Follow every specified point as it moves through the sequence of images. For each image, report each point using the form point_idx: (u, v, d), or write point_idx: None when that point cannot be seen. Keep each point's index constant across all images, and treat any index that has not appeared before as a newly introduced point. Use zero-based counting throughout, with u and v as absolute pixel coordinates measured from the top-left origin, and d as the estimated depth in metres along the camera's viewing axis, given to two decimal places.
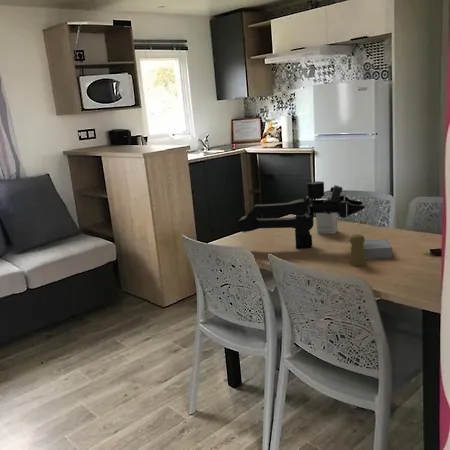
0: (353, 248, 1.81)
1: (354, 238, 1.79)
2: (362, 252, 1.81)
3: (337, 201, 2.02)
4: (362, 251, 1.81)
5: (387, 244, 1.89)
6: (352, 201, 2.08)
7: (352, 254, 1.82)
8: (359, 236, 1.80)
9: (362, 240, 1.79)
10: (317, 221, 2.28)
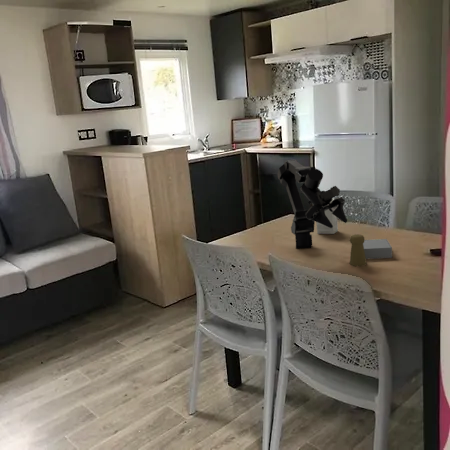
0: (353, 248, 1.81)
1: (354, 238, 1.79)
2: (362, 252, 1.81)
3: (321, 201, 1.87)
4: (362, 251, 1.81)
5: (387, 244, 1.89)
6: (341, 213, 1.91)
7: (352, 254, 1.82)
8: (359, 236, 1.80)
9: (362, 240, 1.79)
10: None
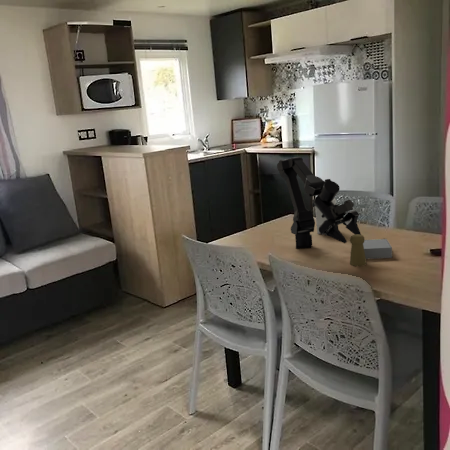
0: (353, 248, 1.81)
1: (354, 238, 1.79)
2: (362, 252, 1.81)
3: (334, 215, 1.83)
4: (362, 251, 1.81)
5: (387, 244, 1.89)
6: (355, 227, 1.87)
7: (352, 254, 1.82)
8: (359, 236, 1.80)
9: (362, 240, 1.79)
10: (317, 221, 2.28)
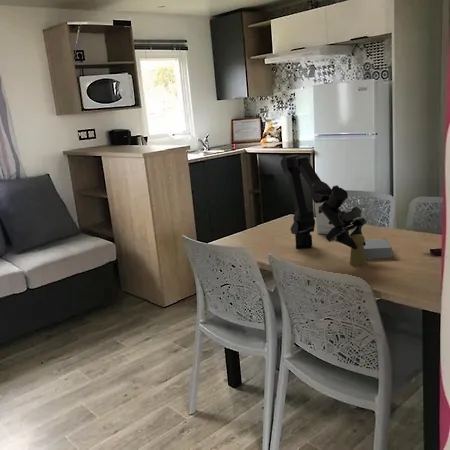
0: None
1: (354, 238, 1.79)
2: (362, 252, 1.81)
3: (342, 223, 1.81)
4: (362, 251, 1.81)
5: (387, 244, 1.89)
6: None
7: (352, 254, 1.82)
8: (359, 236, 1.80)
9: (362, 240, 1.79)
10: (317, 221, 2.28)
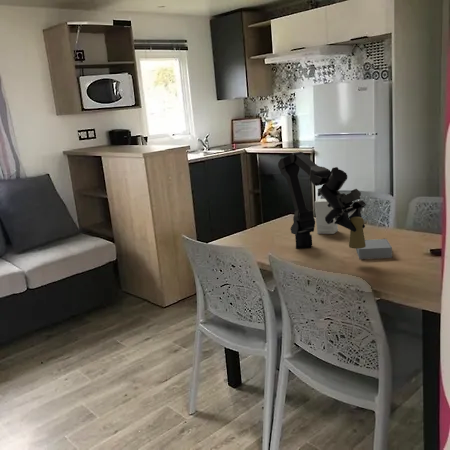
0: None
1: (354, 220, 1.78)
2: (362, 234, 1.79)
3: (341, 205, 1.80)
4: (361, 233, 1.79)
5: (387, 244, 1.89)
6: None
7: (351, 236, 1.80)
8: (358, 218, 1.78)
9: (361, 222, 1.78)
10: (317, 221, 2.28)
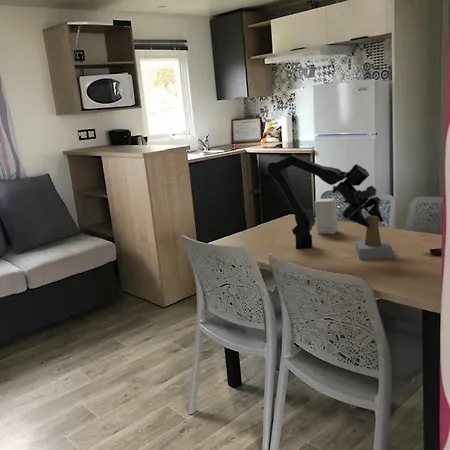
0: (368, 229, 1.89)
1: (370, 219, 1.88)
2: (377, 232, 1.89)
3: (357, 201, 1.90)
4: (377, 232, 1.89)
5: (387, 244, 1.89)
6: (377, 212, 1.93)
7: (367, 234, 1.90)
8: (374, 217, 1.88)
9: (377, 221, 1.88)
10: (317, 221, 2.28)
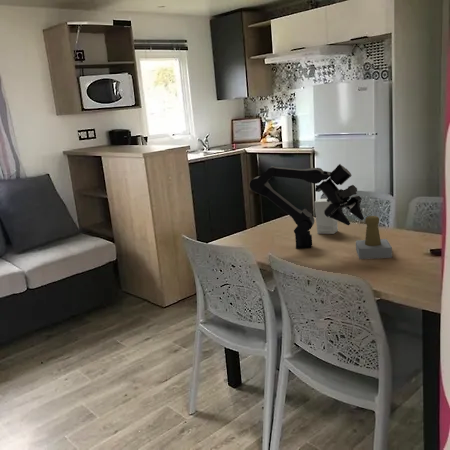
0: (368, 229, 1.90)
1: (370, 219, 1.88)
2: (377, 232, 1.89)
3: (339, 199, 1.96)
4: (377, 231, 1.89)
5: (387, 244, 1.89)
6: (358, 210, 1.99)
7: (367, 234, 1.90)
8: (374, 217, 1.88)
9: (377, 221, 1.88)
10: (317, 221, 2.28)
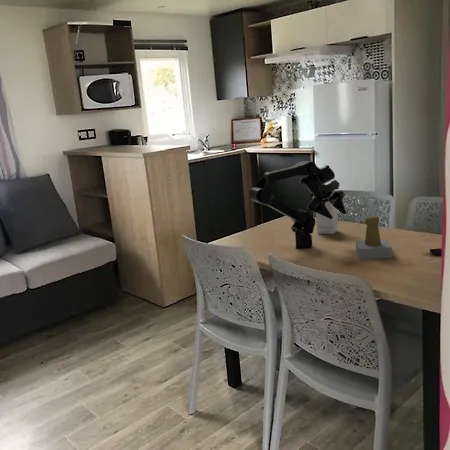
0: (368, 229, 1.90)
1: (370, 219, 1.88)
2: (377, 232, 1.89)
3: (322, 194, 2.02)
4: (377, 232, 1.89)
5: (387, 244, 1.89)
6: (340, 205, 2.05)
7: (367, 235, 1.90)
8: (374, 217, 1.88)
9: (377, 221, 1.88)
10: (317, 221, 2.28)
